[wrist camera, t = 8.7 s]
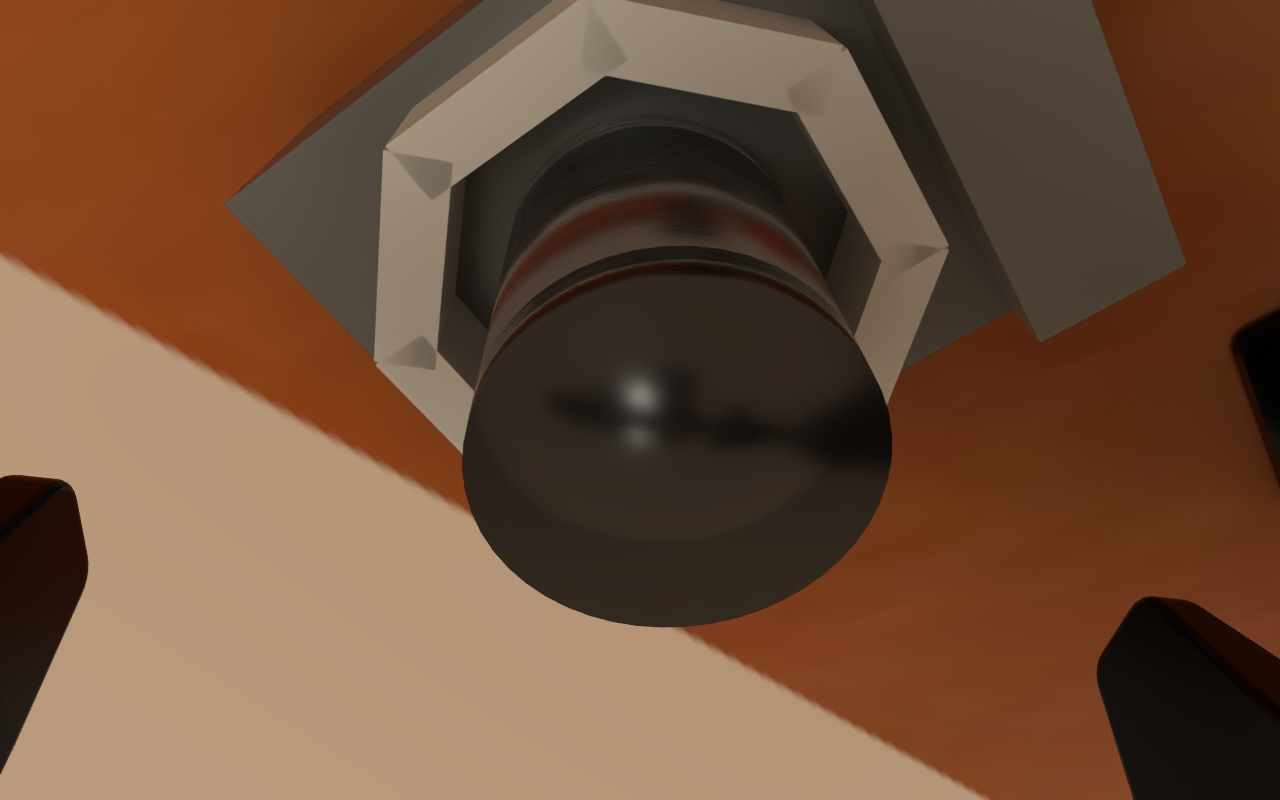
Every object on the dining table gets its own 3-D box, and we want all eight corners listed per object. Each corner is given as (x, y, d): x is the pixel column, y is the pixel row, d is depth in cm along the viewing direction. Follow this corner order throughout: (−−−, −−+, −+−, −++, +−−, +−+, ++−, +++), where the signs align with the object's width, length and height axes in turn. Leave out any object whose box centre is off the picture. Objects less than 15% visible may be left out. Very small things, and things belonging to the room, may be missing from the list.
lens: (793, 103, 13) (912, 260, 8) (785, 367, 16) (874, 612, 11) (490, 126, 13) (423, 296, 8) (529, 386, 16) (496, 640, 11)
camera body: (1033, 156, 19) (1217, 285, 13) (571, 432, 22) (562, 629, 16) (838, -294, 14) (986, -383, 9) (304, 128, 18) (172, 253, 12)
